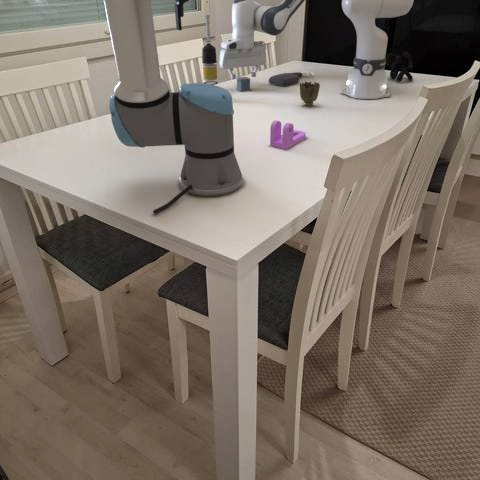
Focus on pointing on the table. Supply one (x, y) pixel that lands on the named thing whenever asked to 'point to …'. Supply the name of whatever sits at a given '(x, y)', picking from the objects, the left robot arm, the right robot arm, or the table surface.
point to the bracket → (284, 135)
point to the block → (243, 83)
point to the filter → (209, 58)
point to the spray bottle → (288, 78)
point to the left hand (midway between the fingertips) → (156, 31)
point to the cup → (309, 92)
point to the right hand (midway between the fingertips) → (243, 77)
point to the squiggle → (399, 66)
